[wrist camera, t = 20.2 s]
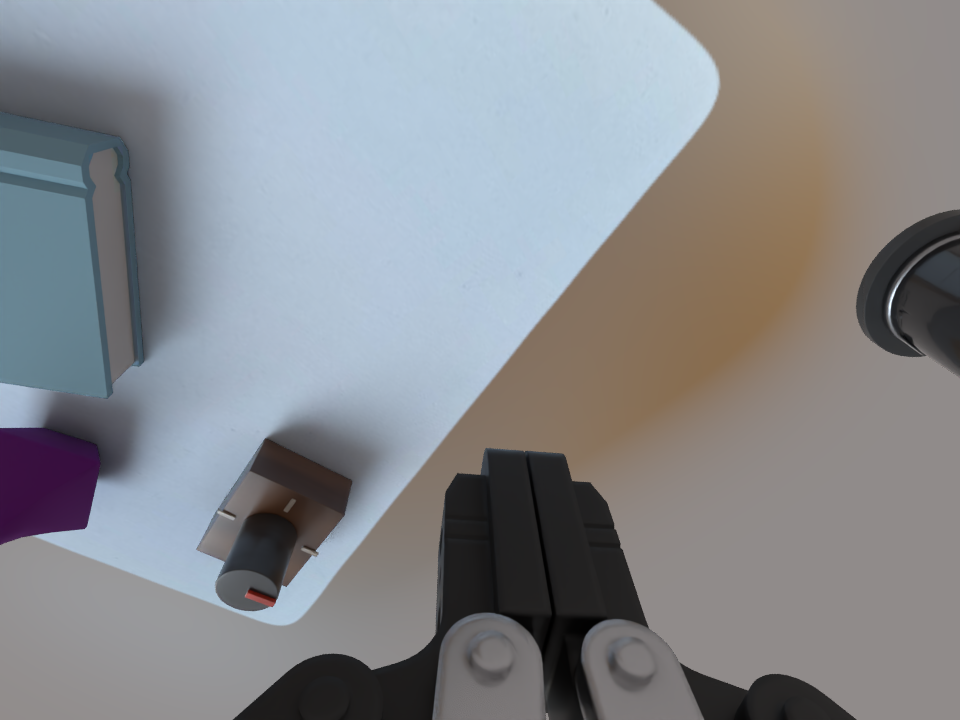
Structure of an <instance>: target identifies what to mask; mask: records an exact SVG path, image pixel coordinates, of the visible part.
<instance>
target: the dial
mask: <svg viewBox="0 0 960 720" xmlns="http://www.w3.org/2000/svg"><path fill="white" fill-rule="evenodd" d="M296 540H297V533H296V530H295V528H294V526H293V525H292V524H291V523H290V522H289V521H288V520H286V519H285V518H283V517H281V516H278V515H275V514H269V513H261V514H256V515H253V516H250V517H249V518H247V519H246V520H245V521H244V522H243V523H242V525H241V527H240V530H239V532H238V534H237V536H236V538H235V541H234V543H233V545H232V547H231V550H230V552H229V554H228V556H227V558H226V561H225V563H224V565H223V567H222V570H221V572H220V574H219V576H218V578H217V581H216V584H215V590H216V593H217V595H218V597H219V598H220V599H221V600H222V601H223V602H224V603H226V604H227V605H229V606H231V607H233V608H236V609H239V610H244V611H258V610H263V609H266V608H268V607H273V606H274V604H275V603H276V600H277V598H278V595H279V592H280V589H281V586H282V583H283V580H284V577H285V574H286V571H287V568H288V565H289V562H290V558H291V555H292V552H293V549H294V546H295V543H296Z"/></svg>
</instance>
